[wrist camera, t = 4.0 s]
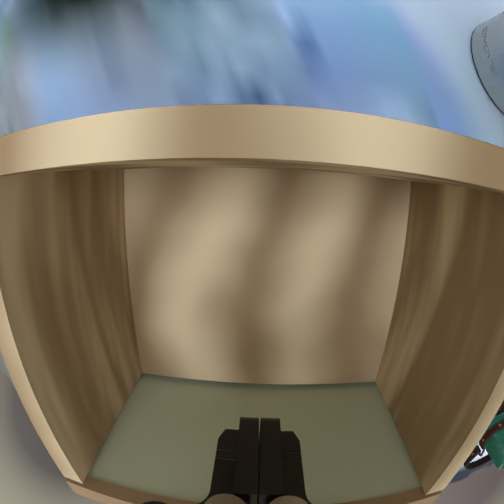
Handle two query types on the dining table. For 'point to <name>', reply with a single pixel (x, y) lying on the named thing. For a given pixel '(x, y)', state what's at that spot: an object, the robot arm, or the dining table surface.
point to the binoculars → (490, 445)
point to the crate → (253, 267)
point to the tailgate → (259, 406)
